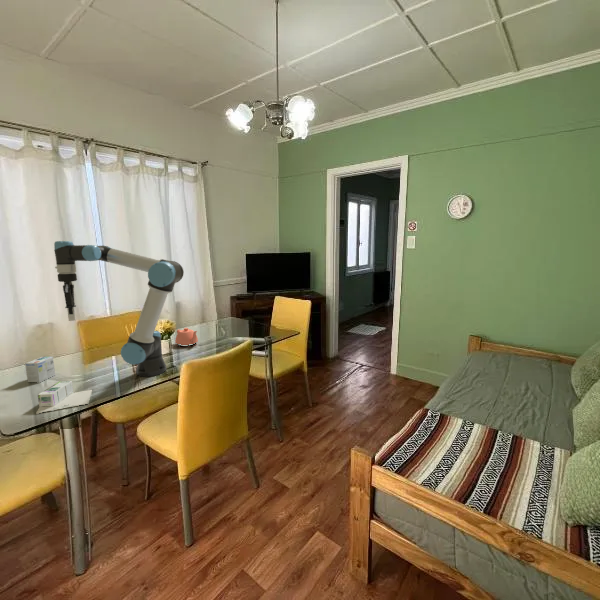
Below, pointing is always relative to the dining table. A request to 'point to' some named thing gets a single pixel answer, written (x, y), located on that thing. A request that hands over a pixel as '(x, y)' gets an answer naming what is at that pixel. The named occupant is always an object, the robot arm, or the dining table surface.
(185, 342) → the teapot
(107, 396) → the dining table surface
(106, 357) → the dining table surface
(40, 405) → the syrup box
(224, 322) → the dining table surface
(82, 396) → the mat
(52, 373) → the light bulb box
